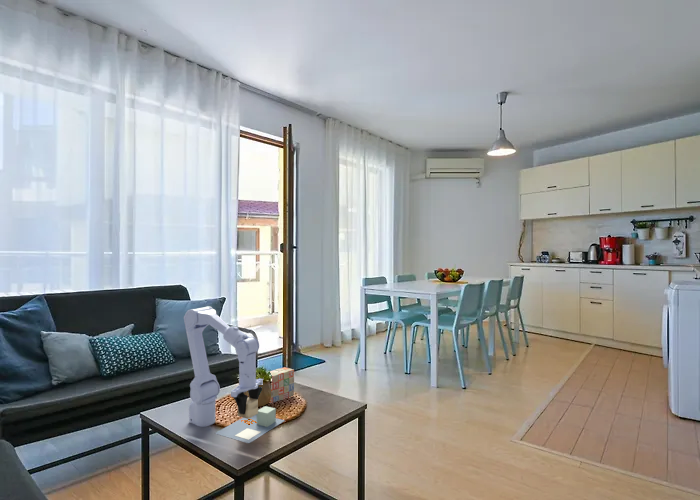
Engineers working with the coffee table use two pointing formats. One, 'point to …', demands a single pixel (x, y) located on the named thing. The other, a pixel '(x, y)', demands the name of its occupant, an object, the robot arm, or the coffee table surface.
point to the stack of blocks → (282, 384)
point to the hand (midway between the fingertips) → (247, 410)
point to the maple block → (250, 408)
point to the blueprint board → (246, 430)
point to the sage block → (266, 416)
